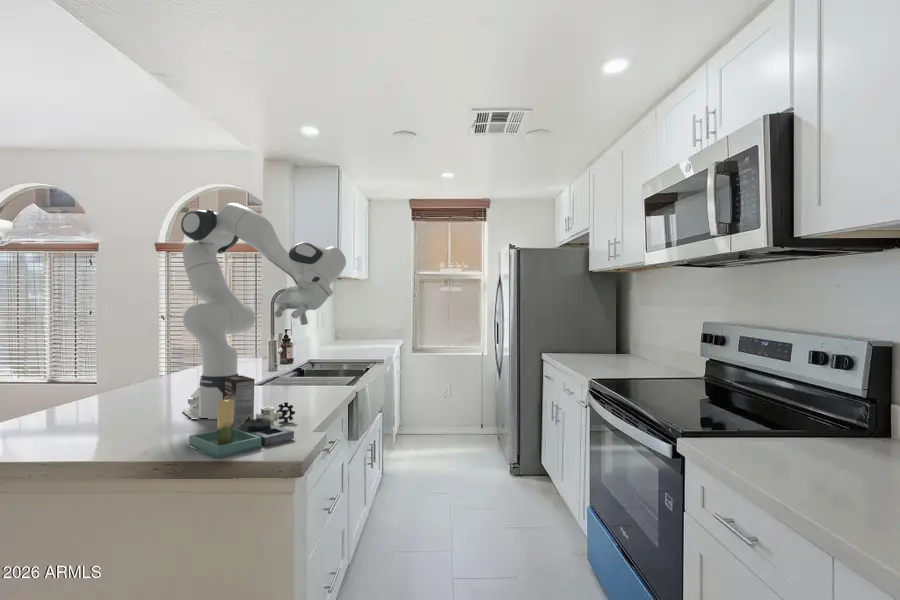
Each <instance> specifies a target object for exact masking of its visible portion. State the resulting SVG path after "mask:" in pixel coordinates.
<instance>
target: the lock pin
mask: <svg viewBox="0 0 900 600" xmlns="http://www.w3.org/2000/svg"><path fill="white" fill-rule="evenodd" d="M216 420H217V421H216V422H217V429H216V430H217V445H218V446H221V445H225V444H230V443H233V422H234V400H233V399H223V400H219V401H218V419H216Z"/></svg>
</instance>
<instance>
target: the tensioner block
mask: <svg viewBox="0 0 900 600" xmlns="http://www.w3.org/2000/svg"><path fill="white" fill-rule="evenodd" d="M238 430H241V431H244V432H247V433H250V434H253V435H256V436H259V437H261V447H265V448H266V447H270V446H273V444H274V445H278V444H277V443H279V444H282V443H281V442H283V443H286V442H285V441H287V442H290V441H289V440H291V441H293V440H292V439H294V438H295V437H294V436H295V431H294V430H291V429H288V428H284V427H281V426H278V425H275V424H274V425H272V424H271V420H270V419H266V418H263V414H261V413H255V418H254V419H252V420H249V421H248V426H247V427H242V428H238ZM294 440H295V439H294Z"/></svg>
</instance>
